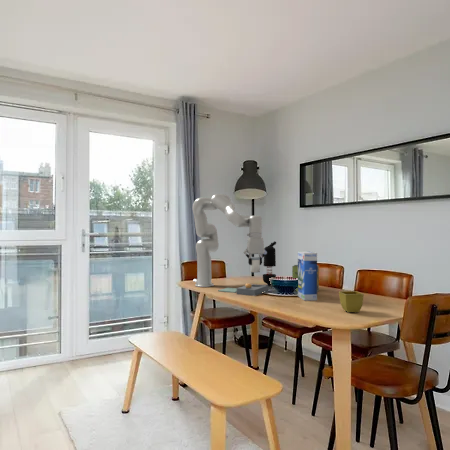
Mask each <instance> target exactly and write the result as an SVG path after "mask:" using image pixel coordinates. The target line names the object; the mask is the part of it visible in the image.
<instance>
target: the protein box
mask: <svg viewBox="0 0 450 450" xmlns="http://www.w3.org/2000/svg"><path fill="white" fill-rule="evenodd" d="M319 267H320V266H319V265H318V264H317V293H318V292H319V290H320V283H319V281H320V278H319V273H320V272H319V271H320V270H319ZM291 269H292V278H298V264H294V265H292V268H291ZM295 292H298V288H297V289H296V291H295Z"/></svg>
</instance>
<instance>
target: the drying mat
mask: <svg viewBox="0 0 450 450" xmlns="http://www.w3.org/2000/svg"><path fill="white" fill-rule="evenodd" d="M237 288H238V287H236V288H234V287H225V288H222V289H218V290H217V291H218V292H221V293H223V292H224V293H231V294H233V293H234V294H235V293H236V294H237Z"/></svg>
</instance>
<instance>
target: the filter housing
mask: <svg viewBox="0 0 450 450" xmlns="http://www.w3.org/2000/svg"><path fill="white" fill-rule="evenodd" d="M251 284H252V287H251V288H250V289H248V288H246V285H243V286H239V287H236V288H237V292H236V295H241V296H253V297H256V296H258V295H262V294H263V293H262V292H264V291H267V292H269V291H268V290H269V288H270V286H269V285H268V284H257V283H256V284H255V283H251ZM264 293H265V292H264Z"/></svg>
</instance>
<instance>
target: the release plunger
mask: <svg viewBox="0 0 450 450" xmlns="http://www.w3.org/2000/svg"><path fill="white" fill-rule="evenodd" d="M252 284H253V283H249V282H248V283H245V286H246V288H248V289H250V288H251V287H252Z"/></svg>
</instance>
